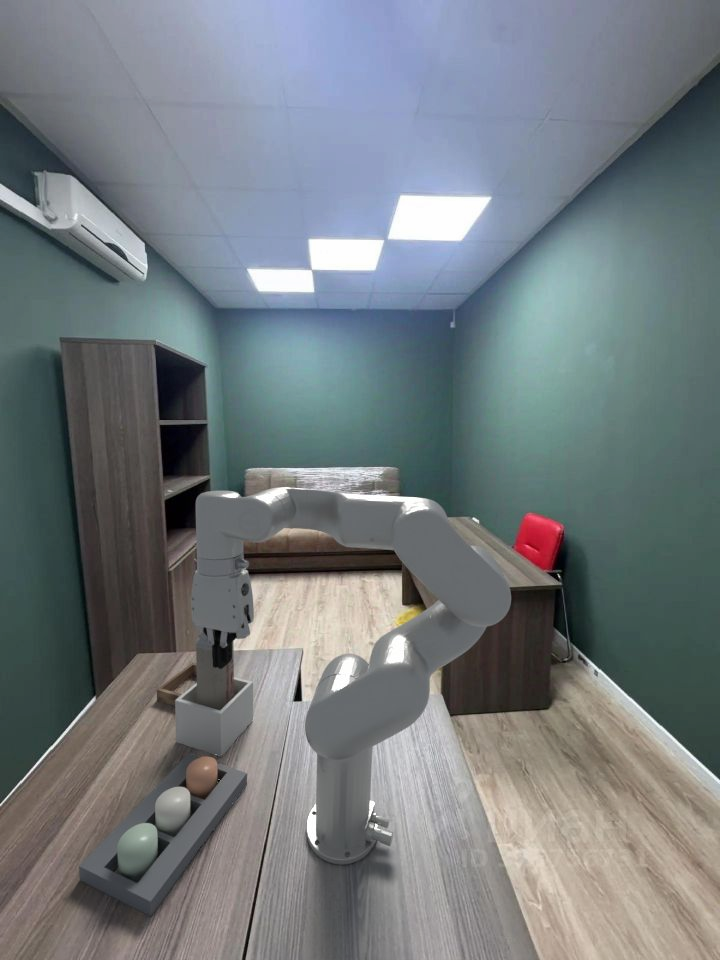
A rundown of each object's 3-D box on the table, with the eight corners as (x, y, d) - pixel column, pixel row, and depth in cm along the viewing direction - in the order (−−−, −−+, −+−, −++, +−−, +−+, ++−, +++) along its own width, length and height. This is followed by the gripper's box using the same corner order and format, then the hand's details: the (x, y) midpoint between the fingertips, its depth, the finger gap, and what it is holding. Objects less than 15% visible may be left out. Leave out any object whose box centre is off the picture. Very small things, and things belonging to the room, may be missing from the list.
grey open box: (252, 720, 101) (253, 681, 100) (221, 756, 90) (221, 713, 88) (211, 708, 105) (210, 670, 103) (176, 741, 93) (175, 700, 92)
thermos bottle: (240, 721, 100) (239, 610, 97) (222, 746, 93) (221, 626, 89) (209, 716, 102) (208, 606, 98) (190, 740, 94) (188, 621, 90)
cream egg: (197, 814, 76) (197, 792, 75) (174, 842, 70) (173, 819, 70) (172, 804, 77) (171, 782, 77) (148, 831, 72) (147, 808, 72)
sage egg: (165, 853, 69) (165, 829, 68) (137, 888, 63) (136, 863, 63) (139, 841, 70) (138, 818, 70) (109, 874, 65) (108, 850, 65)
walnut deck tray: (232, 682, 115) (232, 672, 115) (199, 713, 103) (199, 702, 102) (193, 672, 119) (192, 662, 119) (156, 700, 107) (156, 689, 106)
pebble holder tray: (246, 784, 83) (246, 773, 83) (151, 916, 60) (150, 901, 60) (189, 764, 87) (188, 753, 87) (79, 880, 65) (78, 865, 65)
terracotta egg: (223, 781, 83) (223, 761, 82) (204, 805, 77) (204, 783, 77) (200, 773, 84) (199, 753, 84) (179, 795, 79) (179, 774, 79)
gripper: (270, 562, 73) (270, 661, 75) (199, 552, 77) (201, 645, 80) (245, 576, 66) (246, 685, 68) (168, 564, 70) (172, 666, 73)
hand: (222, 663), depth 74 cm, fingers closed
